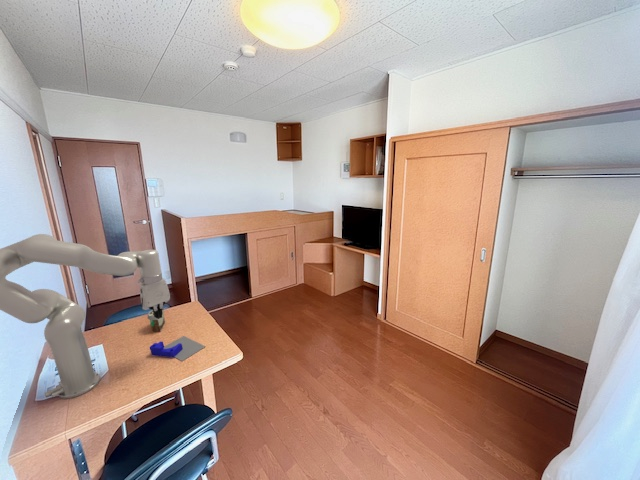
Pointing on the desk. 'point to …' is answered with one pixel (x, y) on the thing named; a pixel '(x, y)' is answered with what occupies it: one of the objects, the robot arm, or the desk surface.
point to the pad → (185, 347)
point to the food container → (156, 321)
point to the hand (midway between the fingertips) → (158, 317)
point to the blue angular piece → (165, 350)
